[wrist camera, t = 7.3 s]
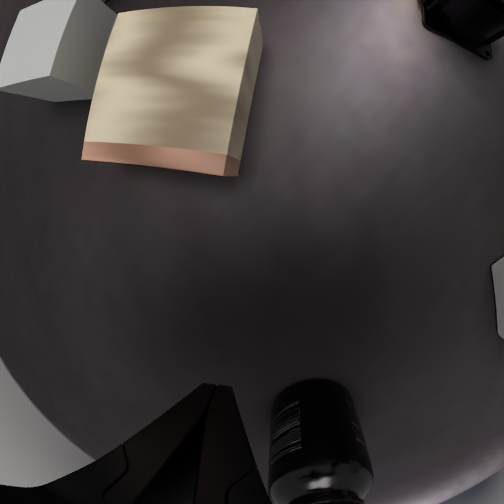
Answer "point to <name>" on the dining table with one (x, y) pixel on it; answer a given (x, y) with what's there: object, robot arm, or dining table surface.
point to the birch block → (176, 89)
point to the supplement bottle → (317, 447)
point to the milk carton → (499, 293)
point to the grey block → (57, 49)
